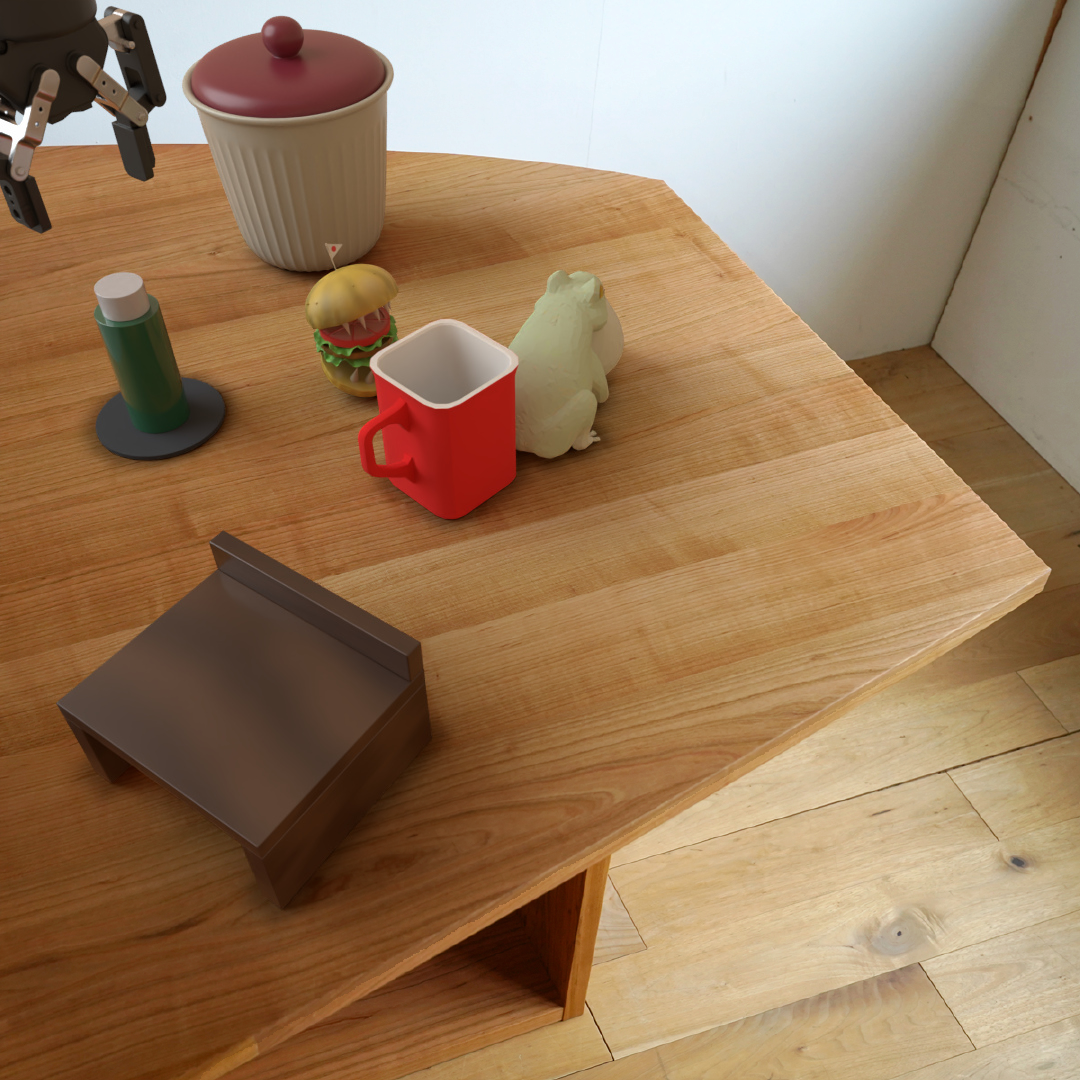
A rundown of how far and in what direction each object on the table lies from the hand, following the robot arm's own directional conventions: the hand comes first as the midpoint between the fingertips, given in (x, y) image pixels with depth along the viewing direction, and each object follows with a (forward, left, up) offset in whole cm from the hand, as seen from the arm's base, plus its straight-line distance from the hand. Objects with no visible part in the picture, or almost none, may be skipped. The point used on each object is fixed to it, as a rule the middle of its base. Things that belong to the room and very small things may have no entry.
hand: (91, 202), depth 70 cm
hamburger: (+13, -10, -19) cm, 25 cm away
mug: (+6, -23, -19) cm, 30 cm away
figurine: (+20, -25, -19) cm, 37 cm away
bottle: (0, 0, -18) cm, 18 cm away
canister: (+27, +8, -19) cm, 34 cm away
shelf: (-18, -29, -19) cm, 39 cm away
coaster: (0, 0, -19) cm, 19 cm away
